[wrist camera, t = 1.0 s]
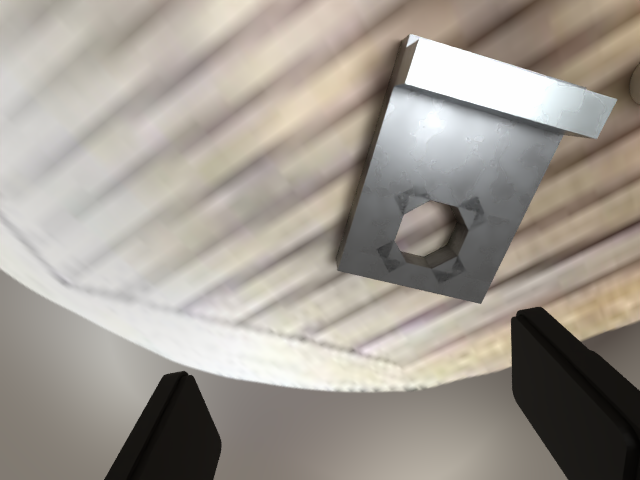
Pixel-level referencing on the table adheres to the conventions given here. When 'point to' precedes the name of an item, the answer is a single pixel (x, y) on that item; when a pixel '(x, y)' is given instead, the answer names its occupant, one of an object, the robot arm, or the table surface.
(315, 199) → the table surface
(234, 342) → the table surface
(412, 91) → the jig
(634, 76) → the bushing
